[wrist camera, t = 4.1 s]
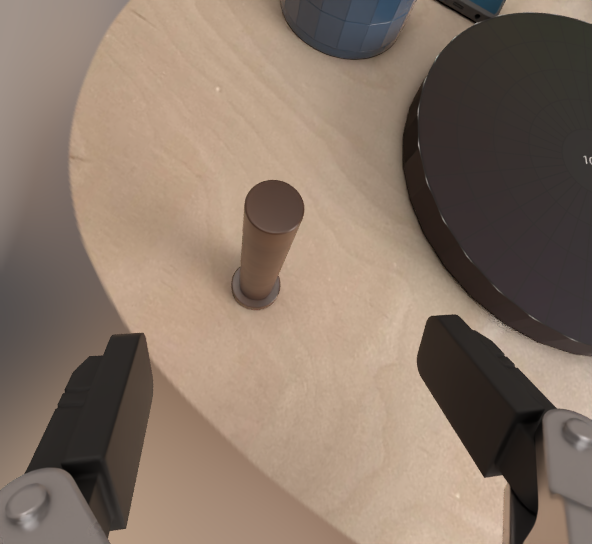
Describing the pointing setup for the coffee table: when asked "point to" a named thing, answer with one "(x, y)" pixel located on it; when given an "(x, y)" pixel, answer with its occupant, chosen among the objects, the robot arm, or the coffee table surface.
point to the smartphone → (476, 8)
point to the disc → (511, 171)
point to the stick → (266, 241)
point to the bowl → (348, 24)
